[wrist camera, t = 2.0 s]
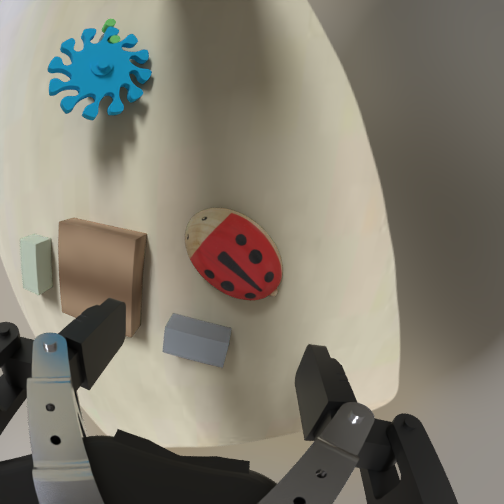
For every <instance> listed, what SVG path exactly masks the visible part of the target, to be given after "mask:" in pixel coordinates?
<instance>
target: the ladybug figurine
mask: <svg viewBox="0 0 504 504" xmlns="http://www.w3.org/2000/svg"><path fill="white" fill-rule="evenodd" d="M185 245H186V249H187V252H188V255H189V257H190V260H191V262H192V263H193V265H194V267H195V268H196V269H197V271H198V272H199V273H200V274H201V275H202V277H203V278H204V279H205V280H207V281H208V282H209V283H210V284H211V285H212V286H214V287H215V288H217V289H218V290H220V291H221V292H223V293H225V294H227V295H229V296H232V297H234V298H238V299H243V300H259V299H262V298H265V297H267V296H269V295H270V296H276V294H277V293H278V290H277V287H278V285H279V284H280V282H281V278H282V272H283V267H282V260H281V256H280V254H279V251H278V249H277V247H276V245H275V244H274V242H273V240H272V239H271V238H270V236H269V235H268V234H267V233H266V232H265V231H264V229H262V228H261V227H260V226H259V225H258V224H257V223H256V222H254V221H253V220H252V219H250V218H249V217H247V216H245V215H243V214H241V213H239V212H236V211H233V210H230V209H225V208H209V209H205V210H202V211H200V212H198V213H197V214H196V215H194V216H193V218H192V219H191V220H190V222H189V223H188V225H187V228H186V232H185Z"/></svg>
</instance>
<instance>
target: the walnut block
mask: <svg viewBox="0 0 504 504" xmlns="http://www.w3.org/2000/svg"><path fill="white" fill-rule="evenodd" d="M146 237H147V234H146V233H142V232H137V231H132V230H128V229H123V228H118V227H114V226H109V225H105V224H100V223H95V222H91V221H86V220H82V219H77V218H71V219H67V220H64V221H60V222H59V239H58V255H59V281H60V295H61V305H62V312H63V313H66V314H68V315H70V316H73V317H75V318H77V317H78V316H79V315H81V313H82V312H84V311H85V310H86V309H87V308H89V307H92V306H95V305H99V306H100V305H101V304H102V303H103V302H104V301H105V300H107V299H108V298H113V299H116V300H119V301H122V302H125V304H126V335H125V336H128V337H132V336H133V335H134V333H135V332H136V331H137V329H138V328H139V326H140V325H141V299H142V281H143V268H144V256H145V246H146Z"/></svg>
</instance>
